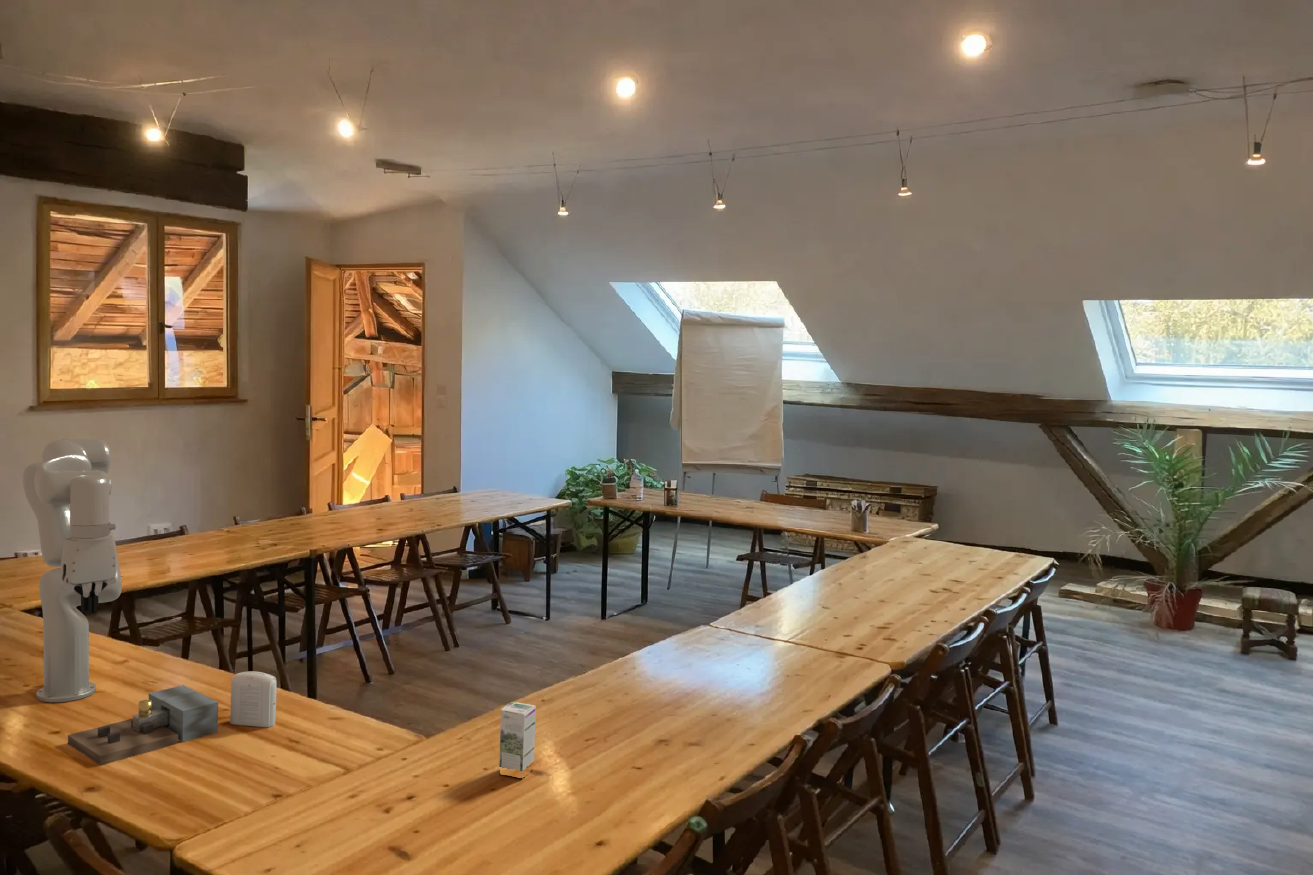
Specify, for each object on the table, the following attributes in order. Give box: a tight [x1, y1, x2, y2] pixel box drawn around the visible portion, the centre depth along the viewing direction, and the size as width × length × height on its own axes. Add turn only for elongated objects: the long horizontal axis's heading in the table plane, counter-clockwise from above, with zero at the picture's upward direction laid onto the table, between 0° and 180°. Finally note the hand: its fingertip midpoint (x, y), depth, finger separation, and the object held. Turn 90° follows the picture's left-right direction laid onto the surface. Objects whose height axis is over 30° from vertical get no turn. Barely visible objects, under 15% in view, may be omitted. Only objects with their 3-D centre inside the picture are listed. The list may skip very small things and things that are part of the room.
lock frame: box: [67, 684, 219, 766], centre depth 214 cm, size 25×16×7 cm, turn 142°
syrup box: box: [498, 701, 537, 771], centre depth 204 cm, size 6×6×14 cm
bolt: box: [132, 699, 170, 732], centre depth 217 cm, size 12×3×6 cm, turn 142°
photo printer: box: [229, 670, 278, 728], centre depth 224 cm, size 10×4×12 cm, turn 86°
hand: (89, 612), depth 214 cm, fingers closed
